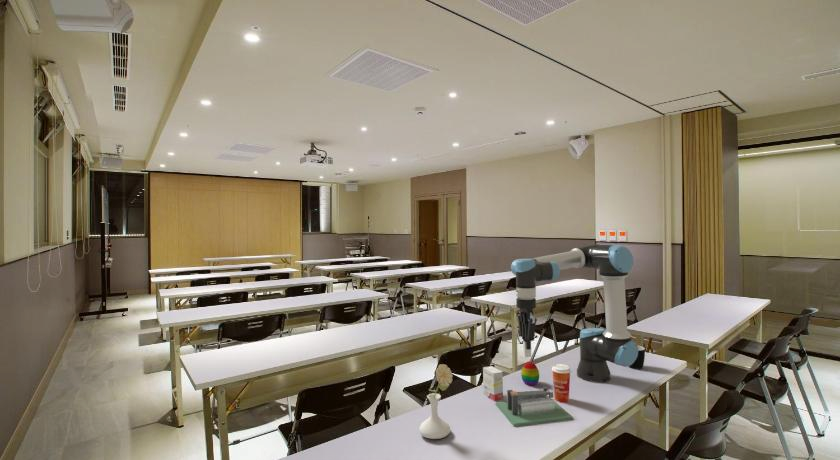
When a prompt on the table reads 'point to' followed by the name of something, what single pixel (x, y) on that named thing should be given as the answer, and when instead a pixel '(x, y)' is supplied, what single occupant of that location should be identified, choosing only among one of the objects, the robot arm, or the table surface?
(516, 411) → the lug posts
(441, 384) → the flower in vase
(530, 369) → the decorative egg
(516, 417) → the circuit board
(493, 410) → the table surface
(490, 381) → the ink box
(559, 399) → the paper cup
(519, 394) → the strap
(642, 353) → the mug
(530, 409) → the block
